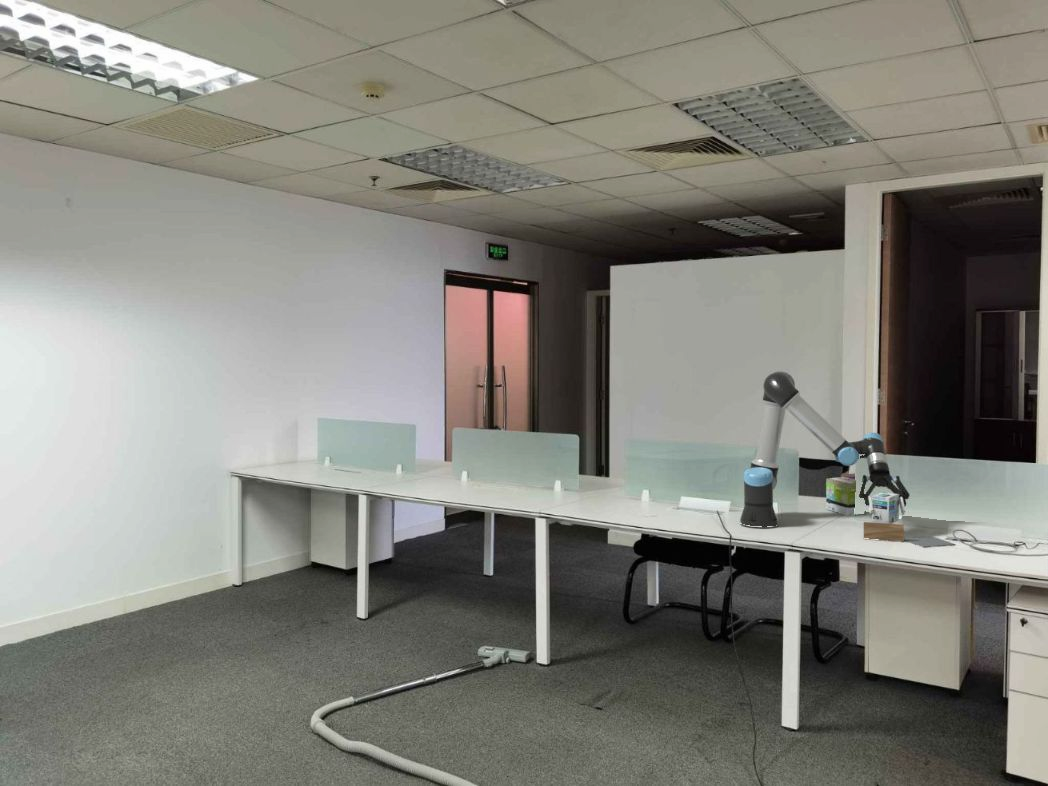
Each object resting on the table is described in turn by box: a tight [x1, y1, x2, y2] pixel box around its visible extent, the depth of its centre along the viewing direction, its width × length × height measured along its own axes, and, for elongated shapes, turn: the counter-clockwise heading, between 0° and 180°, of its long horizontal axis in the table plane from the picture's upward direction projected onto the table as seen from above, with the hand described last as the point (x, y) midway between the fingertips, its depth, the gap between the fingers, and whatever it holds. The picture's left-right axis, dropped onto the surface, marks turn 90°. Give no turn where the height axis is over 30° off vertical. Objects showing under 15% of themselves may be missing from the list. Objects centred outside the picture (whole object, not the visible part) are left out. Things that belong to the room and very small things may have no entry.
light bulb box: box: [871, 491, 900, 524], centre depth 313 cm, size 11×7×11 cm, turn 135°
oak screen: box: [863, 521, 905, 543], centre depth 305 cm, size 1×14×6 cm, turn 65°
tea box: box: [825, 476, 856, 517], centre depth 358 cm, size 15×10×15 cm, turn 17°
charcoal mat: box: [904, 535, 956, 548], centre depth 301 cm, size 13×13×1 cm
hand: (887, 512), depth 310 cm, fingers closed on light bulb box, 11 cm apart
